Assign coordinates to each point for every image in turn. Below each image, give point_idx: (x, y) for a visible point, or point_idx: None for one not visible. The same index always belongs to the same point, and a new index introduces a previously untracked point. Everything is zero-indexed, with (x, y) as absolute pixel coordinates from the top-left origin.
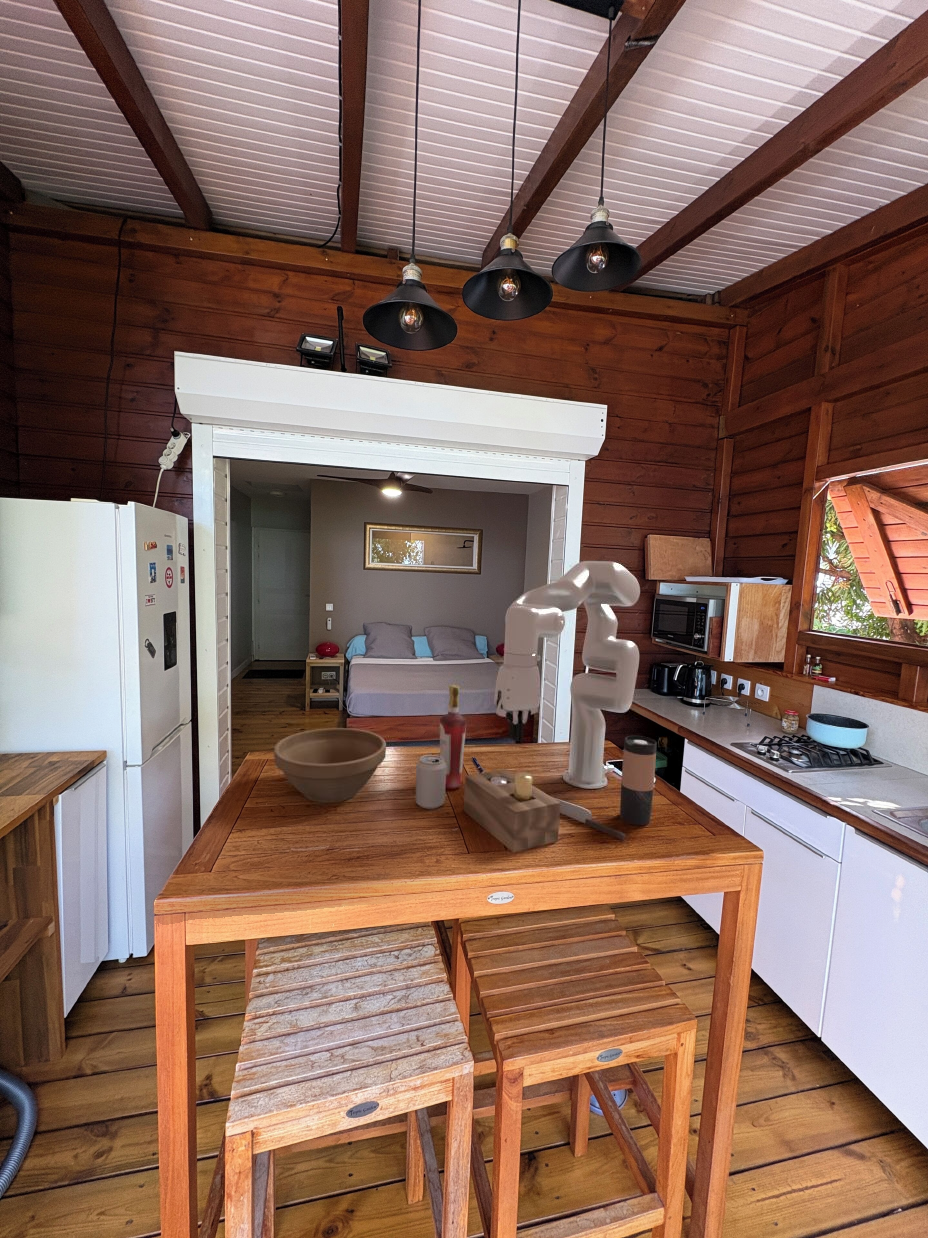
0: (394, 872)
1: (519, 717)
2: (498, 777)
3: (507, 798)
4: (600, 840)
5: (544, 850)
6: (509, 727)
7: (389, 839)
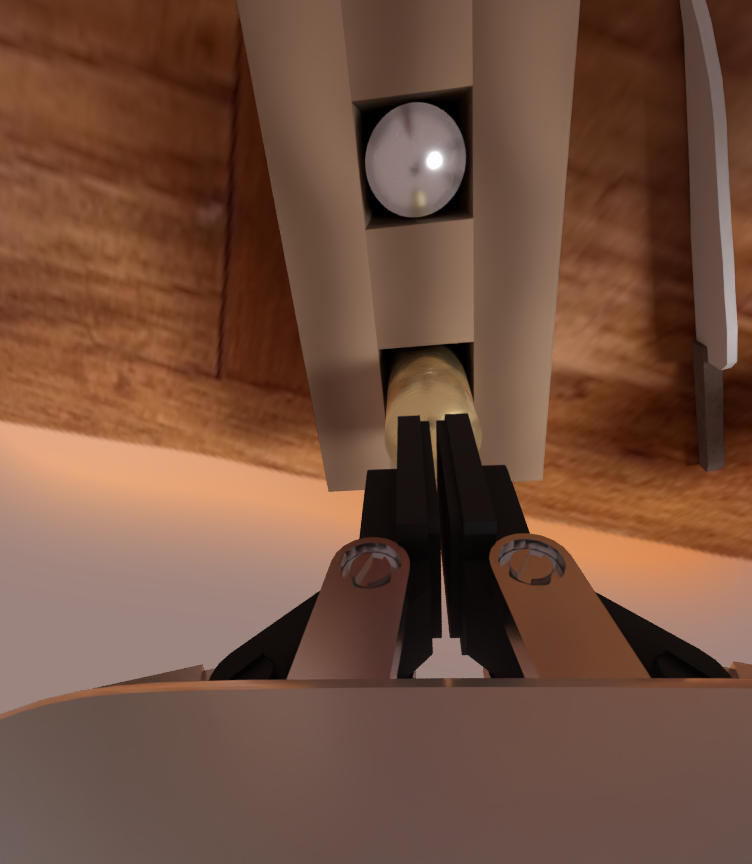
0: (3, 397)
1: (502, 643)
2: (434, 115)
3: (352, 385)
4: (638, 442)
5: None
6: (361, 522)
7: None
